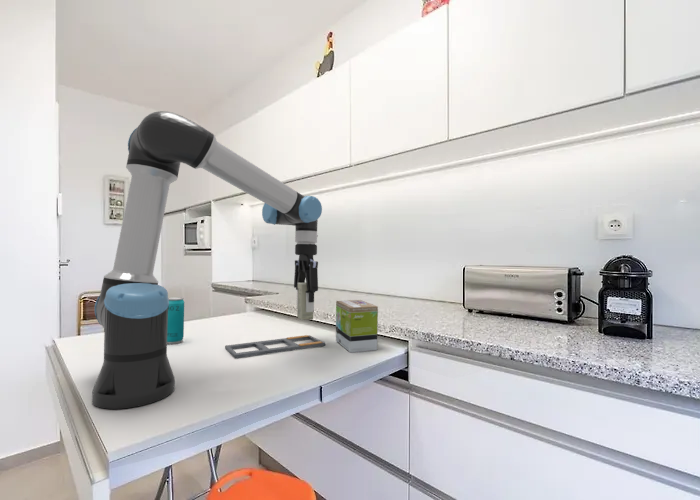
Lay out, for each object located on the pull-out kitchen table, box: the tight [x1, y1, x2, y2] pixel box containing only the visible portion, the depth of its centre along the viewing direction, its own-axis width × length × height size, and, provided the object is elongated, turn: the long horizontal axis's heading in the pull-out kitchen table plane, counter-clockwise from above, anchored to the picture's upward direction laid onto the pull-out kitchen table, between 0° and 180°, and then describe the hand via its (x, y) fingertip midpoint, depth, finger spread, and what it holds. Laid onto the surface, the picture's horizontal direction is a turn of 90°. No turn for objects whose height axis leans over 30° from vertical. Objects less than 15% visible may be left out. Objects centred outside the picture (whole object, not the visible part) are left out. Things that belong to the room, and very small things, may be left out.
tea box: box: [335, 299, 379, 353], centre depth 118 cm, size 15×10×15 cm
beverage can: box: [167, 296, 185, 345], centre depth 118 cm, size 6×6×15 cm
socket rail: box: [224, 334, 326, 360], centre depth 115 cm, size 12×30×1 cm, turn 123°
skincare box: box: [296, 282, 314, 321], centre depth 120 cm, size 6×4×12 cm
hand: (305, 310), depth 120 cm, fingers closed on skincare box, 7 cm apart
